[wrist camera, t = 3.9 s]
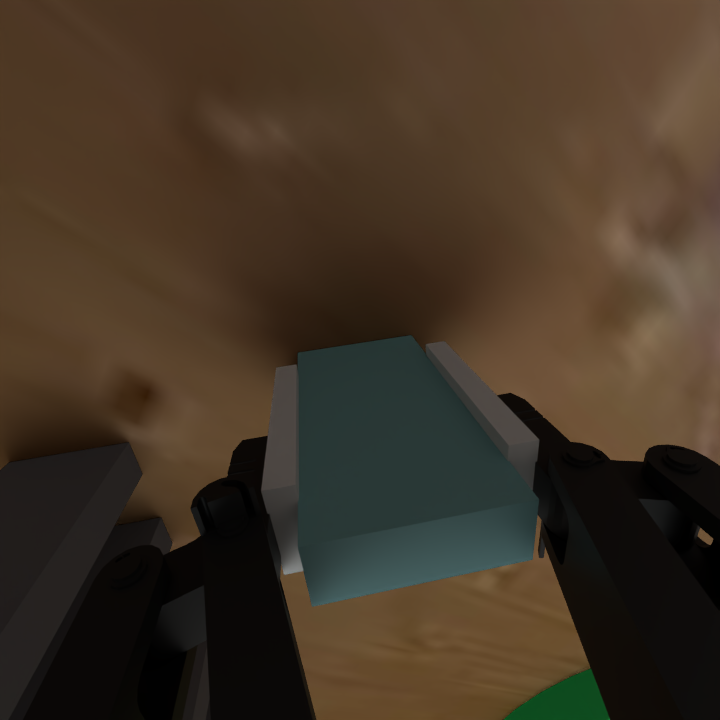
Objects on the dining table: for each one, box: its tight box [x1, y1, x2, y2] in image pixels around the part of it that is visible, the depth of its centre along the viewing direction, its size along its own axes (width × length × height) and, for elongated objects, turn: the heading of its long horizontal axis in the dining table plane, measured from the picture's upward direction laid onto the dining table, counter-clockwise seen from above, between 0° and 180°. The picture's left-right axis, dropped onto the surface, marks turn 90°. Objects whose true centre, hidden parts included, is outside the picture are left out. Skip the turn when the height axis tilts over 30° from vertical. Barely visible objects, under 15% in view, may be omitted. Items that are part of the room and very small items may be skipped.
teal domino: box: [298, 335, 539, 607], centre depth 13 cm, size 2×5×10 cm, turn 96°
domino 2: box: [9, 518, 172, 720], centre depth 15 cm, size 2×5×10 cm, turn 96°
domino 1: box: [0, 442, 142, 720], centre depth 13 cm, size 2×5×10 cm, turn 96°
